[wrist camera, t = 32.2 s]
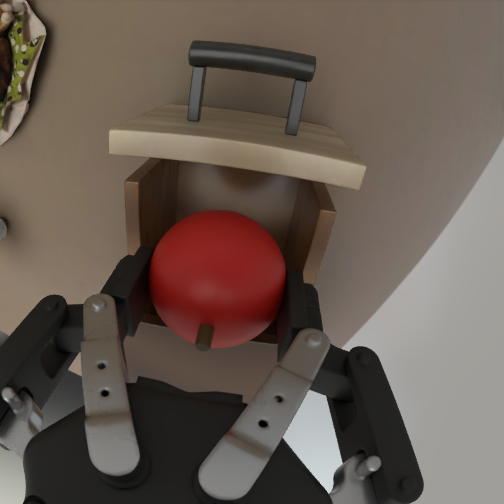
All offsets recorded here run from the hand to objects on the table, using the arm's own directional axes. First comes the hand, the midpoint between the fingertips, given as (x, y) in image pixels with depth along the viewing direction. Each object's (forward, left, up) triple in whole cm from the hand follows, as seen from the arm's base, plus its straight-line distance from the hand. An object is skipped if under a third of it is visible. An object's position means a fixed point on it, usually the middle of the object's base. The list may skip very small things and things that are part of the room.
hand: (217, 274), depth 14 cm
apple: (0, 0, -3) cm, 3 cm away
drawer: (0, -1, -10) cm, 10 cm away
